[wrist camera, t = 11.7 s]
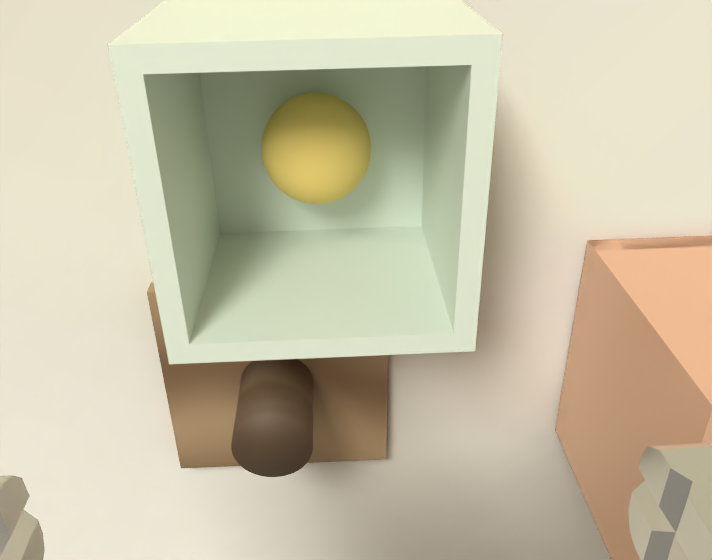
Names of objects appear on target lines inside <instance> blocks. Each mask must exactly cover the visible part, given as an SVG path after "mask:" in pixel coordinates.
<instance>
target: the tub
mask: <svg viewBox="0 0 712 560" xmlns="http://www.w3.org/2000/svg"><path fill="white" fill-rule="evenodd" d="M502 37H503V34H502V33H501V32H500V31H498V30H497V29H496V28H495V27H494V26H492V25H491V24H490V23H489V22H488V21H486V20H485V19H484V18H483V17H481V16H480V15H479V14H478V13H477V12H475V11H474V10H473V9H472V8H470V7H469V6H468V5H467V4H466V3H464V2H463V1H462V0H165V1H164V2H162V3H161V4H160V5H158V6H157V7H156V8H155V9H153V10H152V11H151V12H149V13H148V14H147V15H146V16H144V17H143V18H142V19H140V20H139V21H138V22H136V23H135V24H134V25H133V26H131V27H130V28H129V29H127V30H126V31H125V32H124V33H122V34H121V35H120V36H118V37H117V38H116V39H114V40H113V41H112V42H111V43H109V44H108V49H109V55H110V60H111V65H112V70H113V75H114V81H115V86H116V91H117V96H118V101H119V106H120V112H121V117H122V122H123V127H124V132H125V138H126V143H127V148H128V153H129V158H130V164H131V169H132V174H133V179H134V184H135V189H136V195H137V200H138V205H139V210H140V215H141V221H142V226H143V231H144V236H145V241H146V247H147V252H148V257H149V262H150V267H151V273H152V278H153V283H154V288H155V293H156V298H157V304H158V309H159V314H160V319H161V324H162V330H163V335H164V340H165V345H166V350H167V356H168V361H169V364H187V363H211V362H235V361H258V360H282V359H305V358H329V357H352V356H376V355H399V354H423V353H447V352H470V351H475V347H476V335H477V324H478V312H479V301H480V289H481V278H482V266H483V255H484V244H485V232H486V221H487V209H488V198H489V186H490V175H491V163H492V152H493V141H494V129H495V118H496V106H497V95H498V83H499V72H500V60H501V49H502ZM313 92H317V93H326V94H330V95H334V96H336V97H338V98H341V99H342V100H344V101H346V102H347V103H348V104H350V105H351V106H352V107H353V108H354V109H355V110H356V111H357V112H358V113H359V114H360V116H361V117H362V119H363V120H364V122H365V124H366V126H367V129H368V132H369V135H370V140H371V158H370V163H369V166H368V169H367V171H366V173H365V175H364V177H363V179H362V180H361V182H360V183H359V184H358V185H357V187H356V188H355V189H353V190H352V191H351V192H350V193H349V194H347V195H346V196H344V197H343V198H340V199H338V200H336V201H333V202H329V203H324V204H310V203H304V202H301V201H298V200H295V199H293V198H291V197H289V196H288V195H286V194H285V193H284V192H282V191H281V190H280V189H279V188H278V187H277V186H276V185H275V184H274V183H273V181H272V180H271V178H270V177H269V175H268V173H267V171H266V168H265V166H264V162H263V158H262V137H263V133H264V129H265V127H266V125H267V122H268V121H269V119H270V117H271V116H272V114H273V113H274V112H275V110H276V109H278V108H279V107H280V106H281V105H282V104H283V103H285V102H286V101H287V100H289V99H291V98H293V97H295V96H298V95H301V94H305V93H313Z"/></svg>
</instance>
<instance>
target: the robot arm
mask: <svg viewBox="0 0 712 560" xmlns="http://www.w3.org/2000/svg"><path fill="white" fill-rule="evenodd" d="M638 468H639V470H640V472H641V473H642V475H643V477H644V479H645V481H644V482H643V483H641V484H640V485H639V486H638V487H637V488H636V489H635V490H633V491H632V494H631V499H630V504H629V509H628V514H629V527H630V533H631V536H632V540H633V543H634V547H635V549H636V551H637V553H638V556H639V558H640V560H712V442H710V443H693V444H675V445H657V446H648V447H647V449H646V450H645V451H644V452H643V453H642V456H641V460H640V464H639V467H638ZM28 498H29V494H28V491H27V489H26V487H25V484H24V482H23V480H22V478H20V477H16V476H0V560H43V557H44V541H43V533H42V530H41V527H40V524H39V521H38V520H37V519H36V518H34V517H33V516H32V515H30V514H29V513H27V512H26V511H25V510H23V509H24V507H25V505H26V502H27V500H28Z"/></svg>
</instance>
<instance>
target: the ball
mask: <svg viewBox="0 0 712 560" xmlns="http://www.w3.org/2000/svg"><path fill="white" fill-rule="evenodd" d="M262 158H263V162H264V166H265V168H266V171H267V173H268V175H269V177H270V178H271V180H272V181H273V183H274V184H275V185H276V186H277V187H278V188H279V189H280V190H281V191H282V192H284V193H285V194H286V195H288V196H289V197H291V198H293V199H295V200H298V201H301V202H304V203H310V204H324V203H329V202H333V201H336V200H338V199H340V198H343V197H344V196H346V195H347V194H349V193H350V192H351V191H352V190H353V189H355V188H356V187H357V185H358V184H359V183H360V182H361V180H362V179H363V177H364V175H365V173H366V171H367V169H368V166H369V163H370V158H371V140H370V135H369V132H368V129H367V126H366V124H365V122H364V120H363V119H362V117H361V116H360V114H359V113H358V112H357V111H356V110H355V109H354V108H353V107H352V106H351V105H350V104H348V103H347V102H346V101H344V100H342V99H341V98H338V97H336V96H334V95H330V94H326V93H317V92H313V93H305V94H301V95H298V96H295V97H293V98H291V99H289V100H287V101H286V102H285V103H283V104H282V105H281V106H280V107H279V108H278V109H276V110H275V112H274V113H273V114H272V116H271V117H270V119H269V121H268V122H267V125H266V127H265V129H264V133H263V137H262Z"/></svg>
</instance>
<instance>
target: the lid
mask: <svg viewBox="0 0 712 560" xmlns="http://www.w3.org/2000/svg"><path fill="white" fill-rule="evenodd" d="M147 295H148V300H149V305H150V310H151V315H152V321H153V326H154V331H155V336H156V341H157V346H158V352H159V357H160V362H161V367H162V372H163V378H164V383H165V388H166V393H167V398H168V403H169V409H170V414H171V419H172V424H173V429H174V435H175V440H176V445H177V450H178V455H179V461H180V466H181V468H198V467H221V466H242V467H243V468H244V469H246V470H247V471H249V472H251V473H254V474H257V475H261V476H267V477H278V476H285V475H288V474H291V473H294V472H296V471H298V470H299V469H301V468H302V467H303V466H304V465H305V464H306V463H311V462H334V461H356V460H379V459H386V454H387V393H388V355H376V356H352V357H329V358H305V359H282V360H258V361H235V362H211V363H187V364H169V361H168V356H167V350H166V345H165V340H164V335H163V330H162V324H161V319H160V314H159V309H158V304H157V298H156V293H155V288H154V283H153V282H151V284H150V286H149V289H148V291H147Z"/></svg>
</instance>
